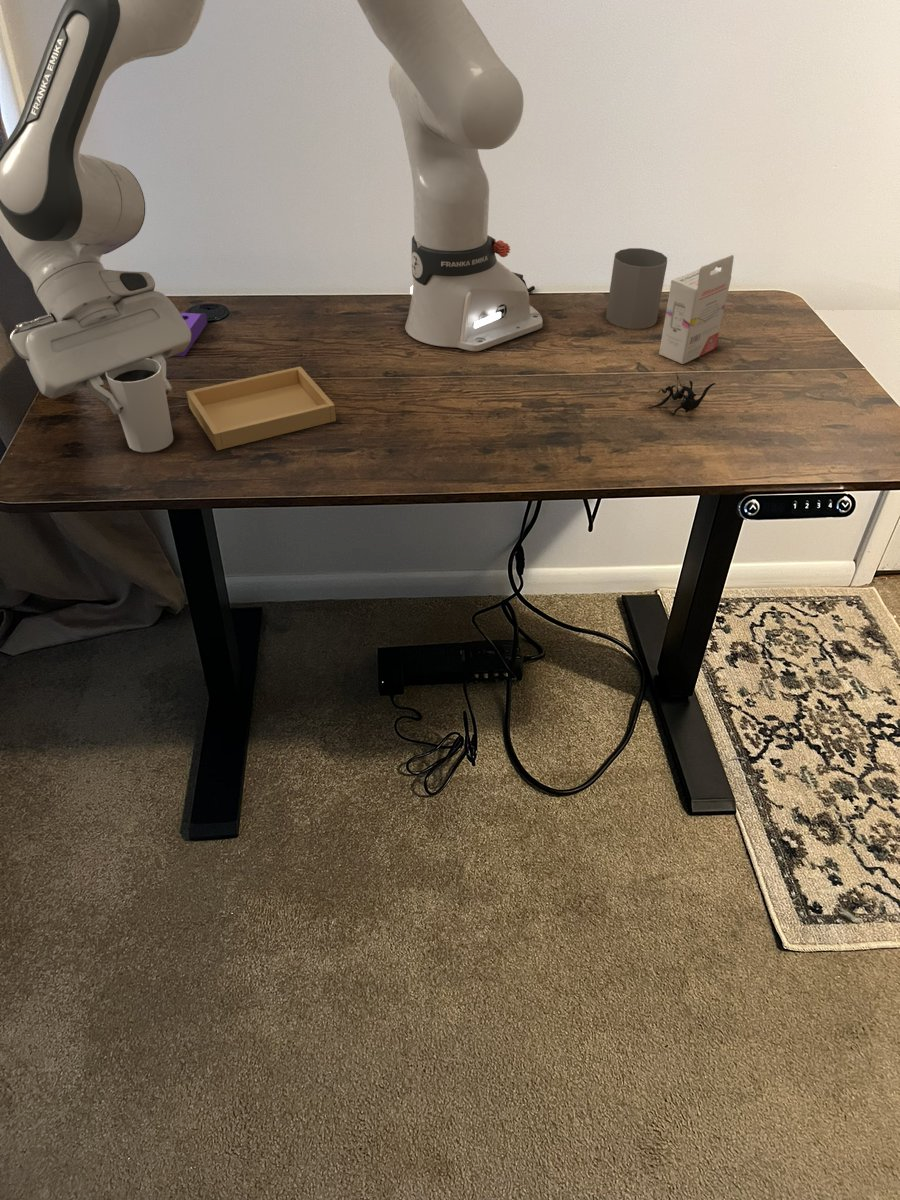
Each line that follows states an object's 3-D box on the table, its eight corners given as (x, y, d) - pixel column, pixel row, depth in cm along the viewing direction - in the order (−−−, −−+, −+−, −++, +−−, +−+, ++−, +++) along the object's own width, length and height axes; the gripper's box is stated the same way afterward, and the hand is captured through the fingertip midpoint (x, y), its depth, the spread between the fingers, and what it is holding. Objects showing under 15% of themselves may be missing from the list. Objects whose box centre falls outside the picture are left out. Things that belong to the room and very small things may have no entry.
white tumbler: (136, 425, 115) (118, 355, 109) (184, 429, 115) (169, 359, 108) (115, 451, 110) (95, 380, 104) (165, 456, 110) (148, 384, 103)
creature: (637, 410, 123) (673, 424, 116) (637, 372, 120) (675, 385, 114) (680, 398, 125) (719, 411, 119) (682, 361, 123) (721, 373, 116)
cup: (620, 303, 148) (629, 244, 141) (664, 316, 144) (676, 255, 138) (597, 320, 143) (605, 259, 136) (642, 333, 139) (652, 271, 132)
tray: (302, 381, 125) (300, 365, 124) (336, 420, 117) (334, 404, 115) (189, 407, 119) (185, 391, 117) (216, 450, 111) (213, 434, 109)
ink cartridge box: (690, 339, 138) (709, 245, 128) (715, 349, 135) (738, 254, 125) (656, 354, 134) (674, 258, 124) (682, 365, 131) (702, 268, 121)
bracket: (184, 356, 131) (175, 312, 126) (140, 354, 131) (129, 310, 126) (207, 323, 139) (199, 281, 135) (166, 321, 140) (157, 279, 135)
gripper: (4, 316, 98) (71, 422, 100) (161, 269, 110) (218, 365, 111) (-1, 340, 104) (62, 441, 105) (149, 293, 115) (204, 385, 116)
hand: (144, 402), depth 108 cm, fingers open, 5 cm apart
